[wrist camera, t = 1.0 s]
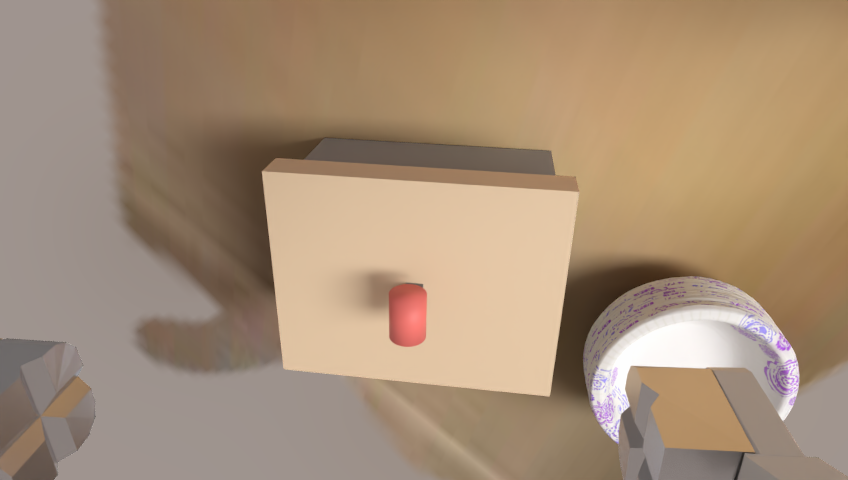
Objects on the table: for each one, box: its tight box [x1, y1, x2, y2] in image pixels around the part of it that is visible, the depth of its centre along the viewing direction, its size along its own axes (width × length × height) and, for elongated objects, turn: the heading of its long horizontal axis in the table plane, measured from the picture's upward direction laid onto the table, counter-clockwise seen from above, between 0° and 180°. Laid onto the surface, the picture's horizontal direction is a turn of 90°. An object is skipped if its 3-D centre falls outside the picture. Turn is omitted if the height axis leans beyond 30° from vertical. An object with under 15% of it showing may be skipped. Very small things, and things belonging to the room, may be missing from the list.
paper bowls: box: [583, 276, 799, 444], centre depth 49 cm, size 15×15×8 cm
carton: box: [304, 138, 555, 175], centre depth 46 cm, size 18×14×10 cm
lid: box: [262, 158, 579, 396], centre depth 40 cm, size 20×16×7 cm
